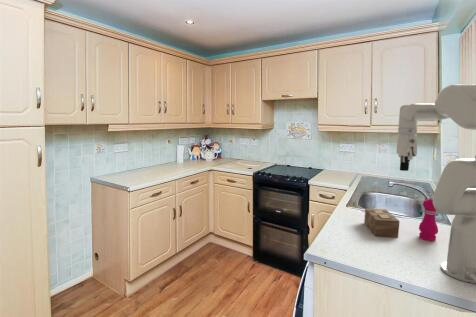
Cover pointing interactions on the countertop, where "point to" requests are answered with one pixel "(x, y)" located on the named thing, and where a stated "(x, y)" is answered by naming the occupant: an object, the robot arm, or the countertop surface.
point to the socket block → (381, 223)
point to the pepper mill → (428, 221)
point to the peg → (383, 217)
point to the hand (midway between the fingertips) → (404, 170)
